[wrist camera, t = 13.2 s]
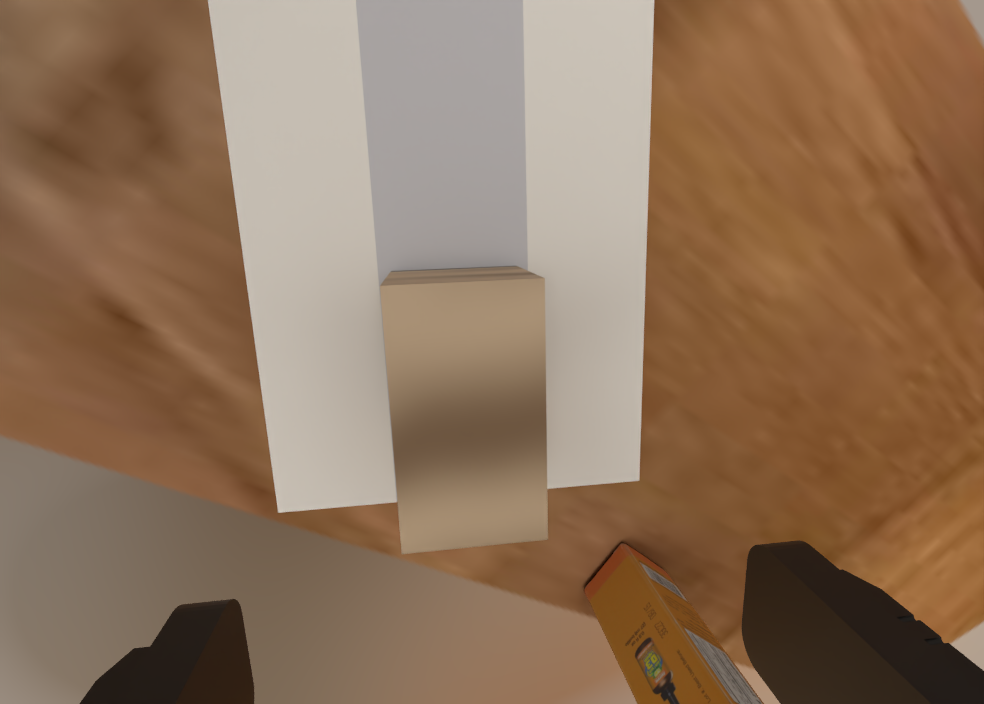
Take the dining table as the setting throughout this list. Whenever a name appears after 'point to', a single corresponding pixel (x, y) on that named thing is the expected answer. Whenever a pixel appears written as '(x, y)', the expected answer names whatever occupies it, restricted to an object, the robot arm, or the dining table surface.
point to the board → (436, 209)
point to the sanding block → (467, 405)
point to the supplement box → (661, 636)
